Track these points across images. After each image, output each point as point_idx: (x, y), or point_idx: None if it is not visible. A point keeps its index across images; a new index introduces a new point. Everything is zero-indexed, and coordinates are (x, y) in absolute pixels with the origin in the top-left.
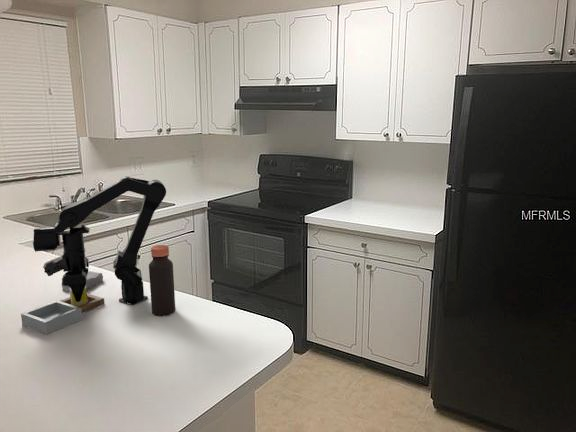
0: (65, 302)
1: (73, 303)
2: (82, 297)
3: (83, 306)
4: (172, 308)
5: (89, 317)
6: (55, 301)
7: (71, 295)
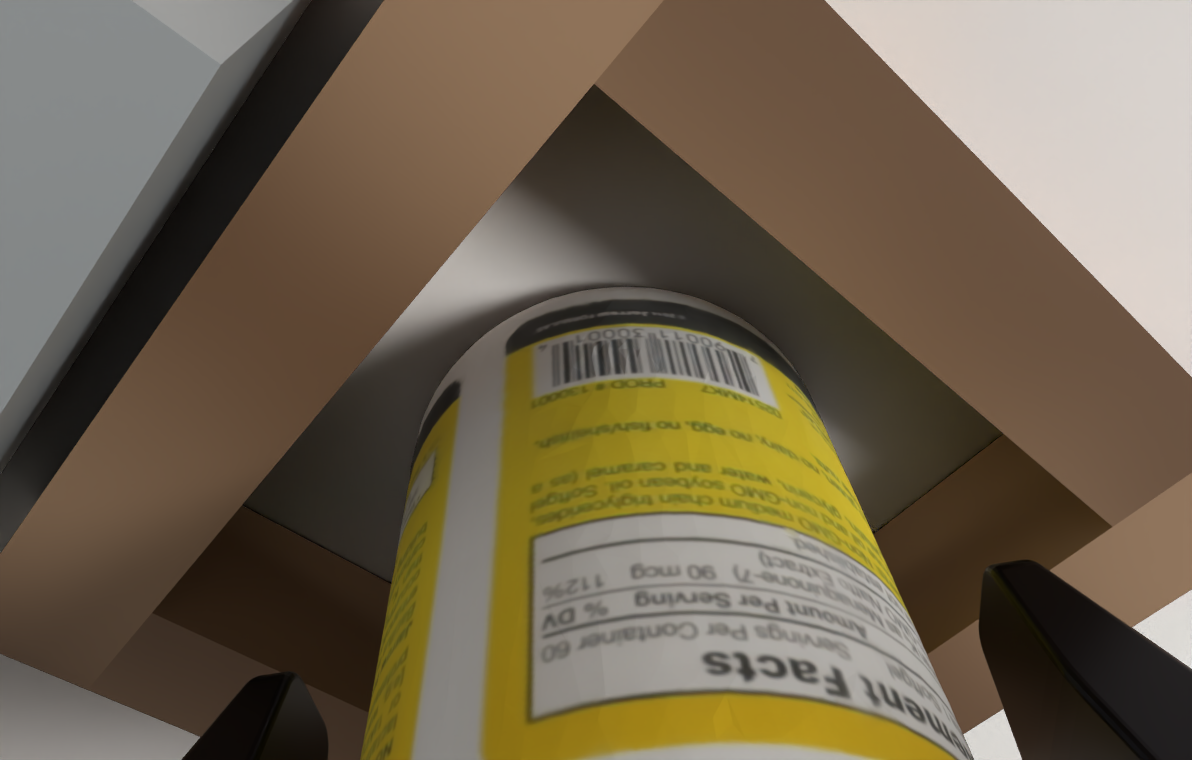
0: (700, 162)
1: (417, 487)
2: None
3: (191, 732)
4: None
5: (15, 721)
6: (53, 27)
7: (430, 654)
